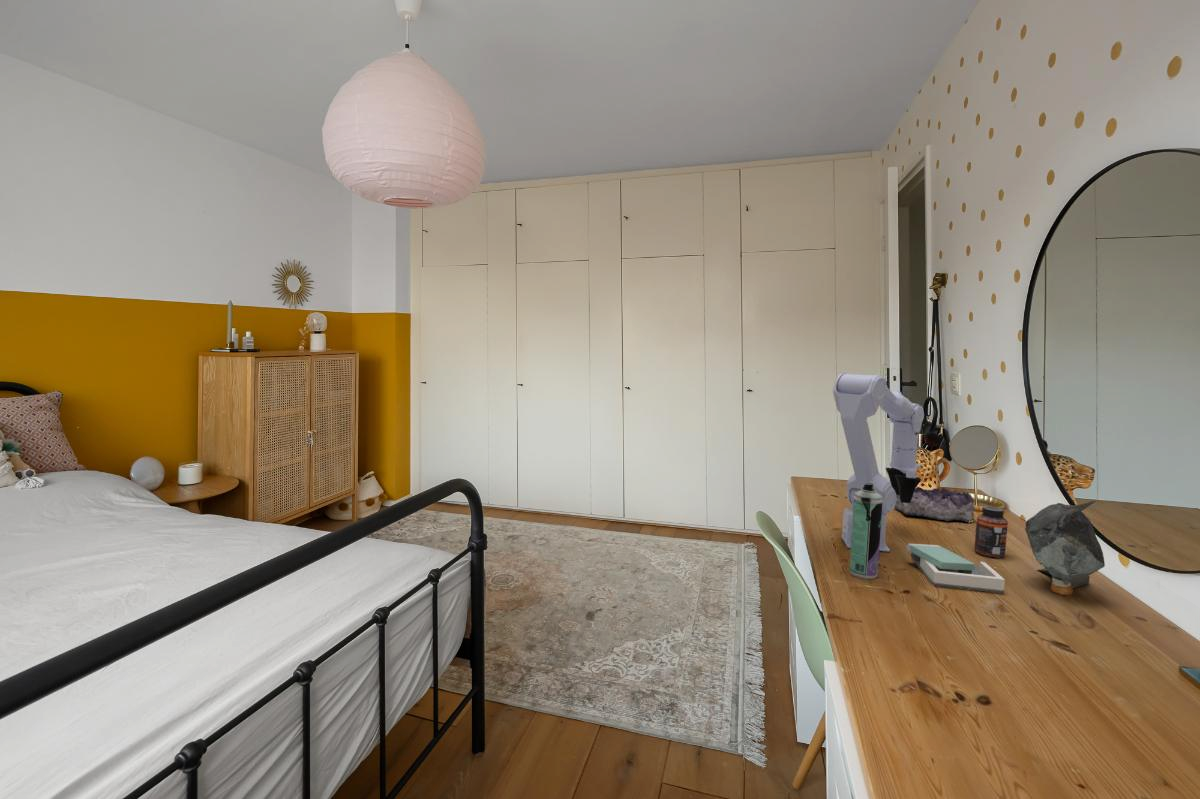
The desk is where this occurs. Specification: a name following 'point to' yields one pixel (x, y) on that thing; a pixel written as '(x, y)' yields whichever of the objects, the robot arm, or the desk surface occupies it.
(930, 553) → the mint green block
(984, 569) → the tray
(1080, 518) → the faceted stone sculpture
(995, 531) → the supplement bottle
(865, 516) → the spray can
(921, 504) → the geode
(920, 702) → the desk surface
